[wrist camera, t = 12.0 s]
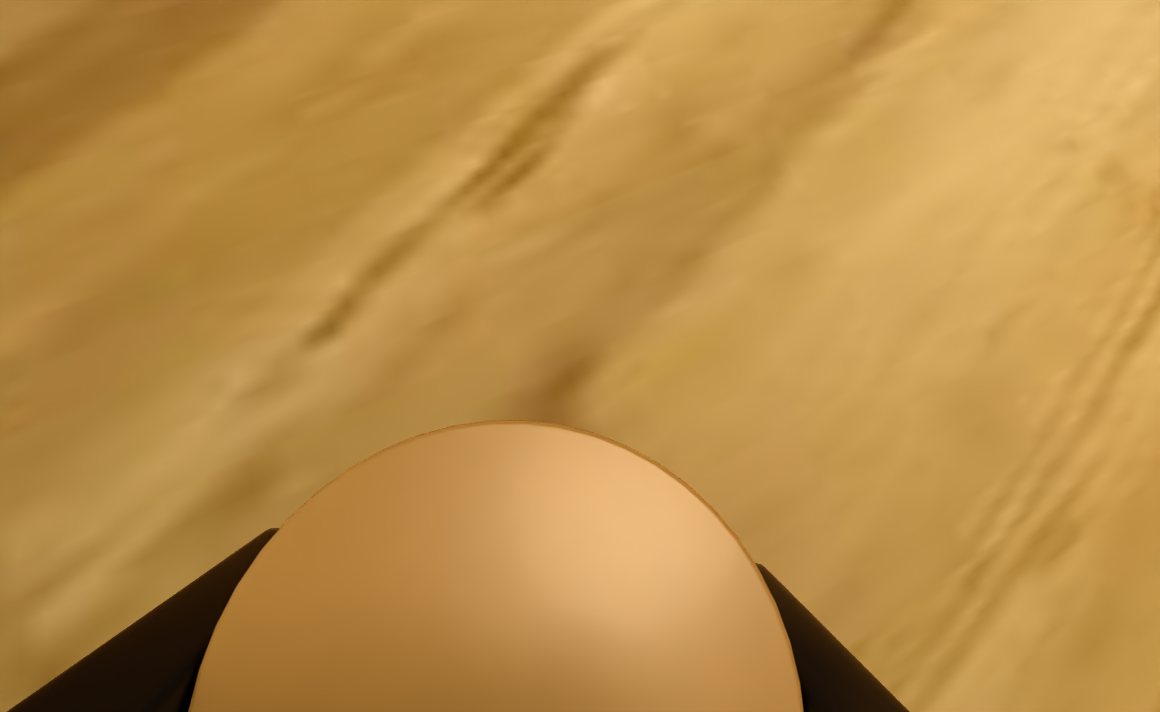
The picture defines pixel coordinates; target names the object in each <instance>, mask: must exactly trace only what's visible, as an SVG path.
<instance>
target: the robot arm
mask: <svg viewBox="0 0 1160 712" xmlns="http://www.w3.org/2000/svg"><path fill="white" fill-rule="evenodd" d="M279 529H280V528H271V529H269V530H266V531H265V532H263V533H262V534H260V535H259V536H258V537H256V538H255V539H253V540H252V541H250V542H249V543H248V544H246V545H245V546H243V547H242V548H240V549H239V550H238V551H236V552H235V553H233V554H232V555H230V556H229V557H227V558H226V559H225V560H223V561H222V562H220V563H219V564H217V565H216V566H215V567H213V568H212V569H210V570H209V571H207V572H206V573H205V574H203V575H202V576H200V577H199V578H197V579H196V580H195V581H193V582H192V583H190V584H189V585H187V586H186V587H185V588H183V589H182V590H180V591H179V592H177V593H176V594H175V595H173V596H172V597H170V598H169V599H167V600H166V601H165V602H163V603H162V604H160V605H159V606H157V607H156V608H155V609H153V610H152V611H150V612H149V613H147V614H146V615H145V616H143V617H142V618H140V619H139V620H137V621H136V622H135V623H133V624H132V625H130V626H129V627H127V628H126V629H124V630H123V631H122V632H120V633H119V634H117V635H116V636H114V637H113V638H112V639H110V640H109V641H107V642H106V643H104V644H103V645H102V646H100V647H99V648H97V649H96V650H94V651H93V652H92V653H90V654H89V655H87V656H86V657H84V658H83V659H82V660H80V661H79V662H77V663H76V664H74V665H73V666H72V667H70V668H69V669H67V670H66V671H64V672H63V673H62V674H60V675H59V676H57V677H56V678H54V679H53V680H52V681H50V682H49V683H47V684H46V685H44V686H43V687H42V688H40V689H39V690H37V691H36V692H34V693H33V694H32V695H30V696H29V697H27V698H26V699H24V700H23V701H21V702H20V703H19V704H17V705H16V706H14V707H13V708H11V709H10V710H9V711H7V712H188V710H189V707H190V703H191V699H192V695H193V691H194V687H195V683H196V679H197V676H198V672H199V668H200V665H201V663H202V660H203V658H204V655H205V653H206V650H207V647H208V645H209V642H210V640H211V637H212V634H213V632H214V629H215V627H216V625H217V623H218V621H219V619H220V617H221V615H222V613H223V611H224V609H225V607H226V605H227V604H228V602H229V600H230V598H231V596H232V594H233V592H234V590H235V588H236V586H237V585H238V583H239V582H240V580H241V579H242V578H243V576H244V575H245V573H246V572H247V570H248V569H249V567H250V566H251V564H252V563H253V561H254V560H255V558H256V557H257V555H258V554H259V553H260V551H261V550H262V549H263V547H264V546H265V545H266V544H267V543H268V542H269V540H270V539H271V538H272V537H273V536H274V535H275V534H276V532H277V531H278V530H279ZM755 564H756V566H757V567H758V569H759V571H760V573H761V575H762V577H763V579H764V581H765V583H766V585H767V587H768V589H769V591H770V593H771V595H772V597H773V599H774V601H775V603H776V605H777V607H778V610H779V613H780V616H781V618H782V621H783V624H784V627H785V629H786V632H787V635H788V637H789V640H790V643H791V647H792V652H793V656H794V660H795V664H796V668H797V672H798V676H799V681H800V686H801V694H802V702H803V710H804V712H909V711H908V710H907V709H906V708H905V707H904V706H903V705H902V704H901V703H900V702H899V701H898V700H897V699H896V698H895V697H894V696H893V695H892V694H891V693H890V692H889V691H888V690H887V689H886V688H885V687H884V686H883V685H882V684H881V683H880V682H879V681H878V680H877V679H876V678H875V677H874V676H873V675H872V674H871V673H870V672H869V671H868V670H867V669H866V668H865V667H864V666H863V665H862V664H861V663H860V662H859V661H858V660H857V659H856V658H855V657H854V656H853V655H852V654H851V653H850V652H849V651H848V650H847V649H846V648H845V647H844V646H843V645H842V644H841V643H840V642H839V641H838V640H837V639H836V638H835V637H834V636H833V635H832V634H831V633H830V632H829V631H828V630H827V629H826V628H825V627H824V626H823V625H822V624H821V623H820V622H819V621H818V620H817V619H816V618H815V617H814V616H813V615H812V614H811V613H810V612H809V611H808V610H807V609H806V608H805V607H804V606H803V605H802V604H801V603H800V602H799V601H798V600H797V599H796V598H795V597H794V596H793V595H792V594H791V593H790V592H789V591H788V590H787V589H786V588H785V587H784V586H783V585H782V584H781V583H780V582H779V581H778V580H777V579H776V578H775V577H774V576H773V575H772V574H771V573H770V572H769V571H768V570H767V569H766V568H765V567H764V566H763V565H761V564H758V563H755Z"/></svg>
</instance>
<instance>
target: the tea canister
mask: <svg viewBox="0 0 1160 712" xmlns="http://www.w3.org/2000/svg"><path fill="white" fill-rule="evenodd" d="M188 712H804V710H803V702H802V694H801V686H800V681H799V676H798V672H797V668H796V664H795V660H794V656H793V652H792V647H791V643H790V640H789V637H788V635H787V632H786V629H785V627H784V624H783V621H782V618H781V616H780V613H779V610H778V607H777V605H776V603H775V601H774V599H773V597H772V595H771V593H770V591H769V589H768V587H767V585H766V583H765V581H764V579H763V577H762V575H761V573H760V571H759V569H758V567H757V566H756V564H755V563H754V561H753V560H752V558H751V557H750V555H749V554H748V552H747V551H746V549H745V548H744V546H743V544H742V543H741V541H740V540H739V538H738V537H737V536H736V534H735V533H734V532H733V531H732V530H731V529H730V527H729V526H728V525H727V524H726V523H725V522H724V520H723V519H722V518H721V517H720V516H719V514H718V513H717V512H716V511H715V510H714V509H713V507H711V506H710V505H709V504H708V503H707V502H706V501H705V500H704V499H703V498H702V497H701V496H700V495H698V494H697V493H696V492H695V491H694V490H693V489H692V488H691V487H690V486H689V485H688V484H687V483H685V482H684V481H682V480H681V479H680V478H678V477H677V476H676V475H674V474H673V473H671V472H670V471H669V470H667V469H666V468H664V467H663V466H662V465H660V464H659V463H657V462H656V461H654V460H652V459H650V458H648V457H646V456H645V455H643V454H641V453H639V452H637V451H635V450H634V449H632V448H630V447H628V446H626V445H624V444H621V443H619V442H616V441H613V440H611V439H608V438H606V437H603V436H601V435H598V434H595V433H593V432H589V431H585V430H581V429H577V428H572V427H568V426H564V425H560V424H553V423H544V422H536V421H527V420H503V421H483V422H476V423H469V424H462V425H455V426H451V427H447V428H443V429H439V430H436V431H432V432H428V433H425V434H421V435H418V436H415V437H413V438H410V439H408V440H405V441H403V442H400V443H398V444H396V445H393V446H391V447H388V448H386V449H383V450H382V451H380V452H378V453H376V454H374V455H373V456H371V457H369V458H367V459H365V460H364V461H362V462H360V463H358V464H356V465H355V466H353V467H351V468H350V469H348V470H347V471H345V472H344V473H343V474H341V475H340V476H338V477H337V478H336V479H334V480H333V481H332V482H330V483H329V484H327V485H326V486H325V487H323V488H322V489H320V490H319V491H318V492H317V493H316V494H315V495H314V496H312V497H311V498H310V499H309V500H308V501H307V502H306V503H305V504H304V505H303V506H302V507H300V508H299V509H298V510H297V511H296V512H295V513H294V514H293V515H292V516H291V517H290V518H288V520H287V521H286V522H285V523H284V524H283V525H282V527H281V528H280V529H279V530H278V531H277V532H276V534H275V535H274V536H273V537H272V538H271V539H270V540H269V542H268V543H267V544H266V545H265V546H264V547H263V549H262V550H261V551H260V553H259V554H258V555H257V557H256V558H255V560H254V561H253V563H252V564H251V566H250V567H249V569H248V570H247V572H246V573H245V575H244V576H243V578H242V579H241V580H240V582H239V583H238V585H237V586H236V588H235V590H234V592H233V594H232V596H231V598H230V600H229V602H228V604H227V605H226V607H225V609H224V611H223V613H222V615H221V617H220V619H219V621H218V623H217V625H216V627H215V629H214V632H213V634H212V637H211V640H210V642H209V645H208V647H207V650H206V653H205V655H204V658H203V660H202V663H201V665H200V668H199V672H198V676H197V679H196V683H195V687H194V691H193V695H192V699H191V703H190V707H189V710H188Z"/></svg>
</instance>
